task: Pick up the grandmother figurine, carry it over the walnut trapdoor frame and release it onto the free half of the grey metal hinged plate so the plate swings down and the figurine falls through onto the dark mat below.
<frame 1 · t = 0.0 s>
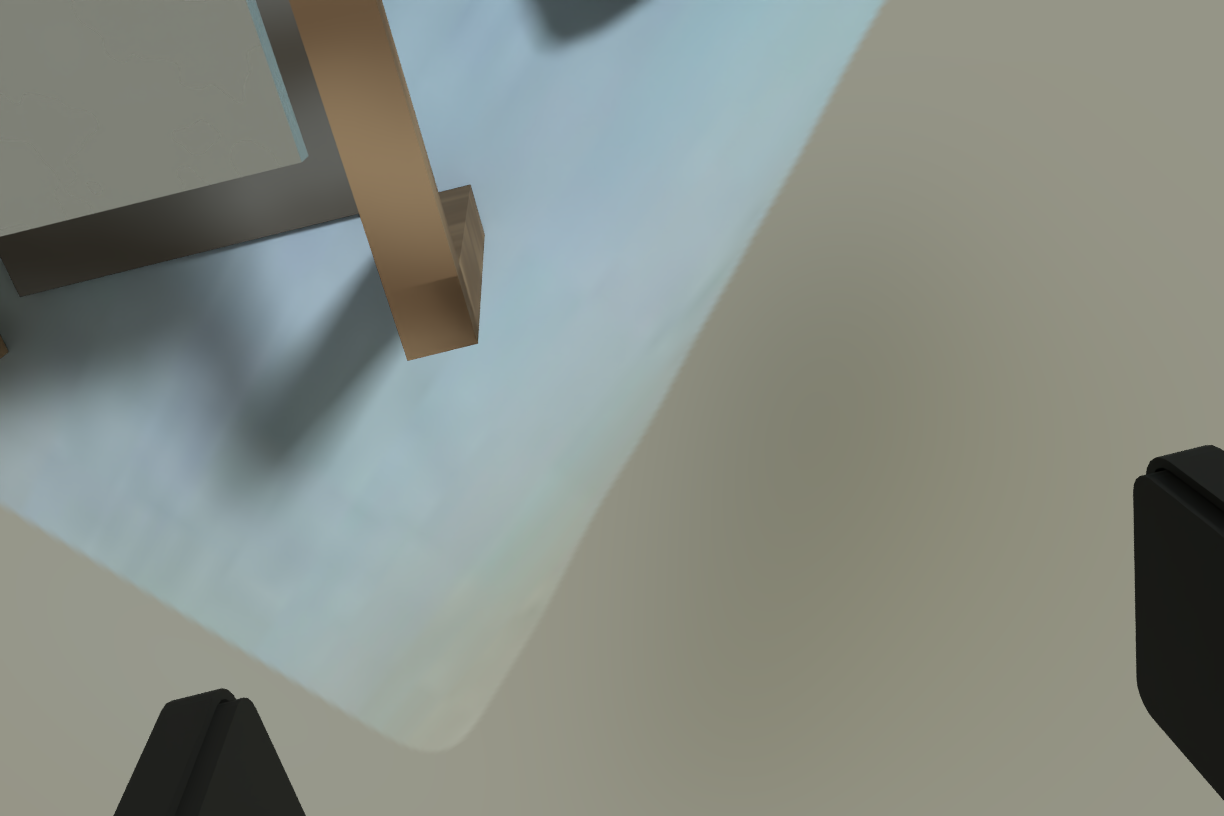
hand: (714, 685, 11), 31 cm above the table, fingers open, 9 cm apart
trapdoor frame: (115, 32, 36), on the table
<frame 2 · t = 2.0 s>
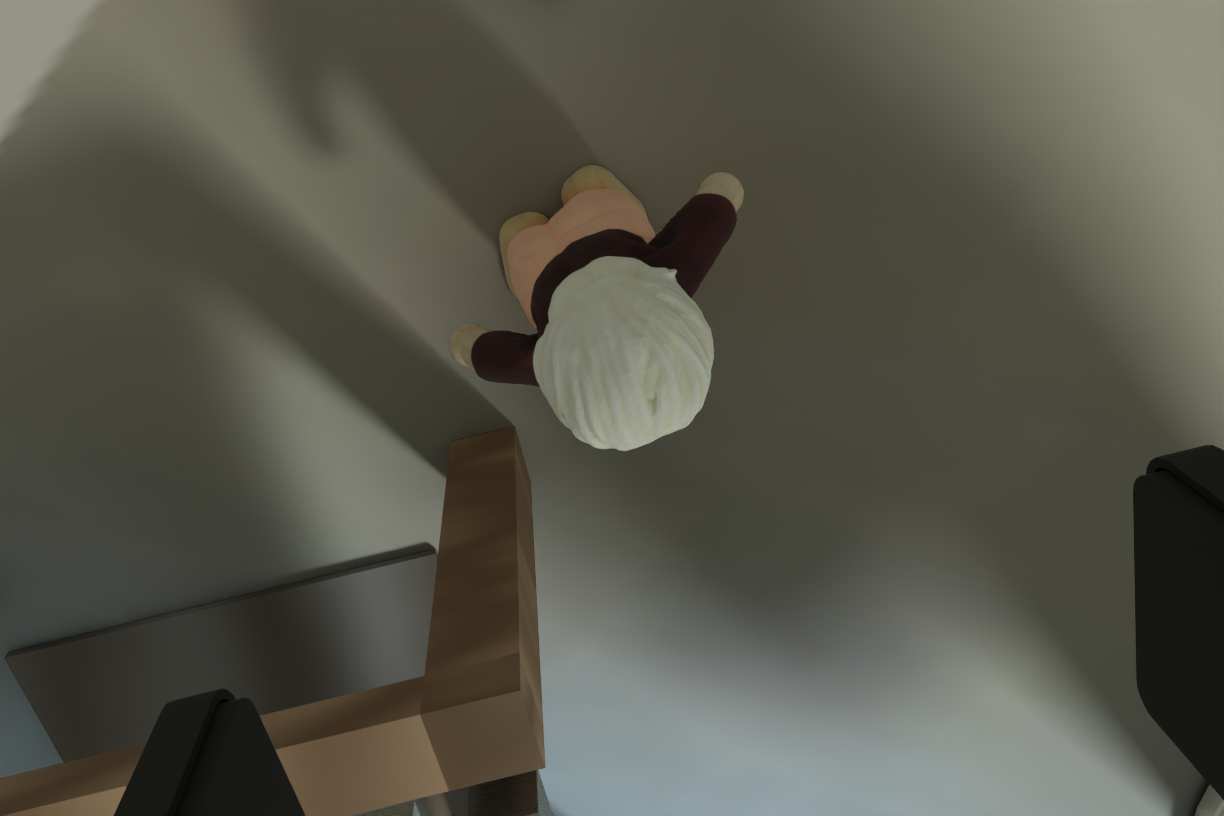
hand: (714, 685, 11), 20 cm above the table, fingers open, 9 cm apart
grandmother figurine: (584, 224, 30), on the table
trapdoor frame: (324, 758, 36), on the table
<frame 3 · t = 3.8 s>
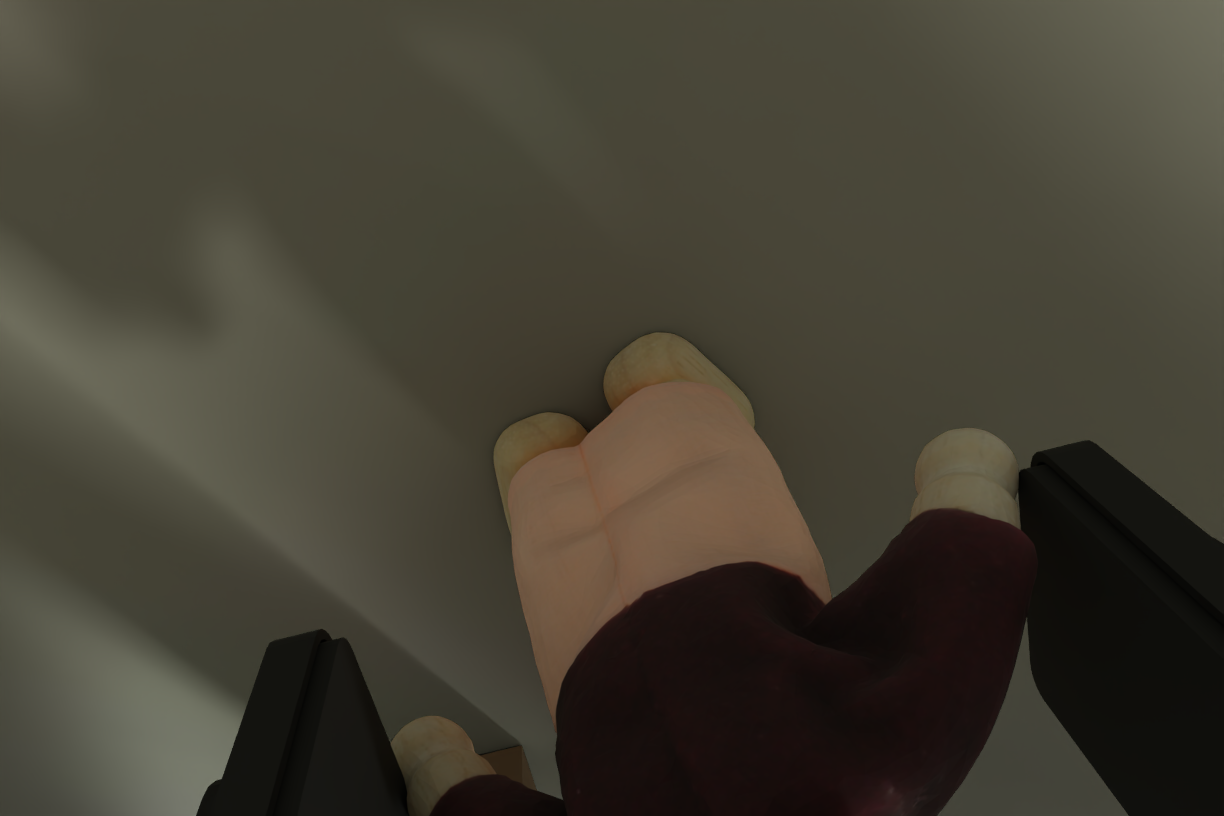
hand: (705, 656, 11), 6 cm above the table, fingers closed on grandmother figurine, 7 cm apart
grandmother figurine: (643, 428, 17), on the table, touching gripper
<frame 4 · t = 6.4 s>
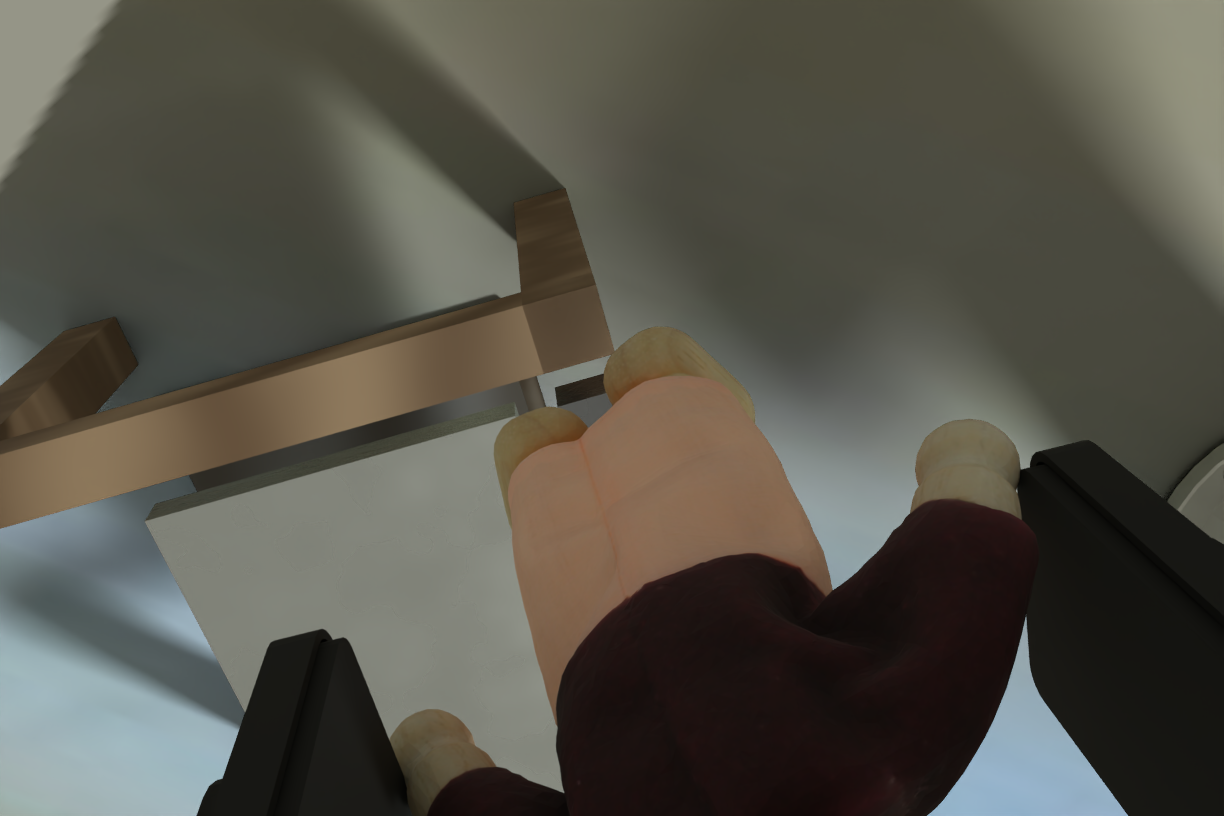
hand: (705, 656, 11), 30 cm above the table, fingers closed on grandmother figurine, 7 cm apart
trapdoor plate: (462, 656, 32), point 12 cm above the table, hinge at 0.0°
grandmother figurine: (644, 422, 17), point 23 cm above the table, touching gripper
trapdoor frame: (413, 495, 43), on the table
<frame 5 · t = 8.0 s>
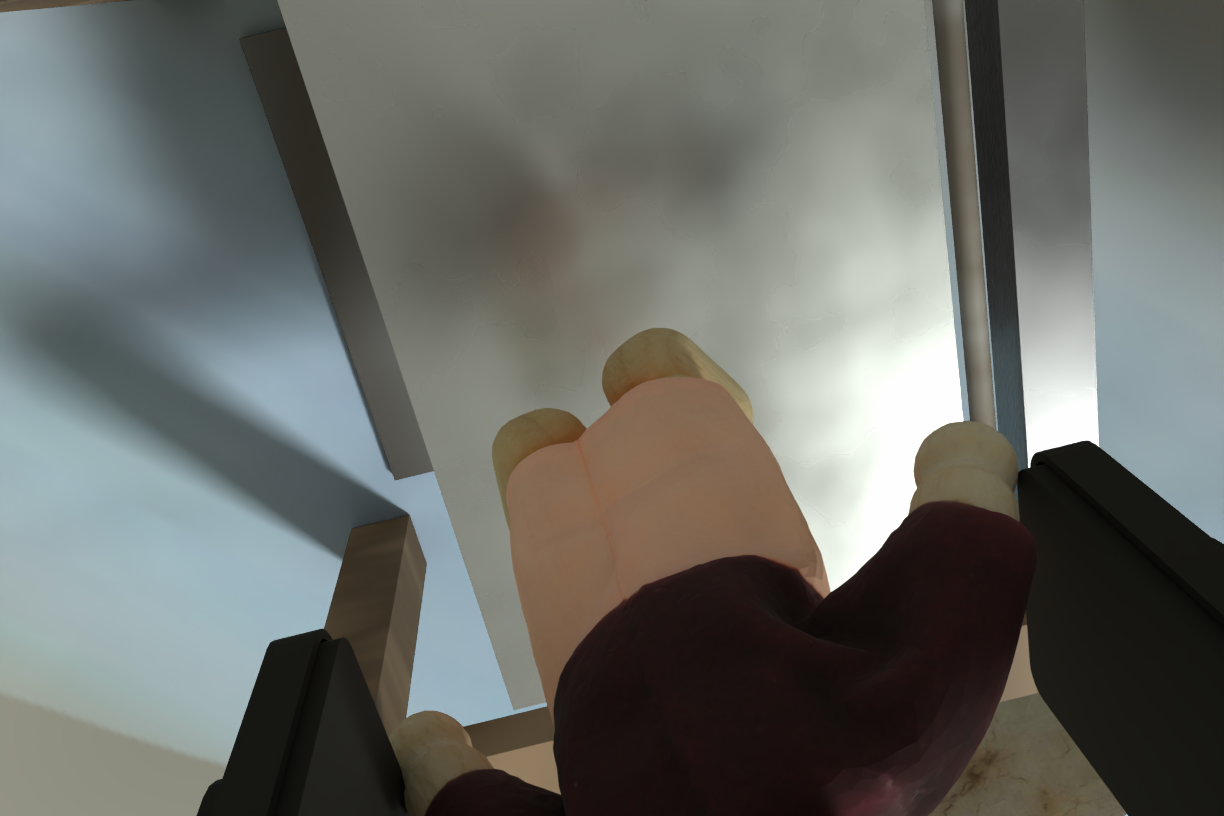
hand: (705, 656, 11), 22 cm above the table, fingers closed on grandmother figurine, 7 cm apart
trapdoor plate: (744, 318, 20), point 12 cm above the table, hinge at 0.0°
grandmother figurine: (642, 423, 17), point 16 cm above the table, touching gripper
marble piece: (883, 707, 41), on the table
trapdoor frame: (582, 214, 31), on the table
when the fingers open (21 cm above the table, at t = 9.1 s): grandmother figurine drops 4 cm, resting on trapdoor plate.
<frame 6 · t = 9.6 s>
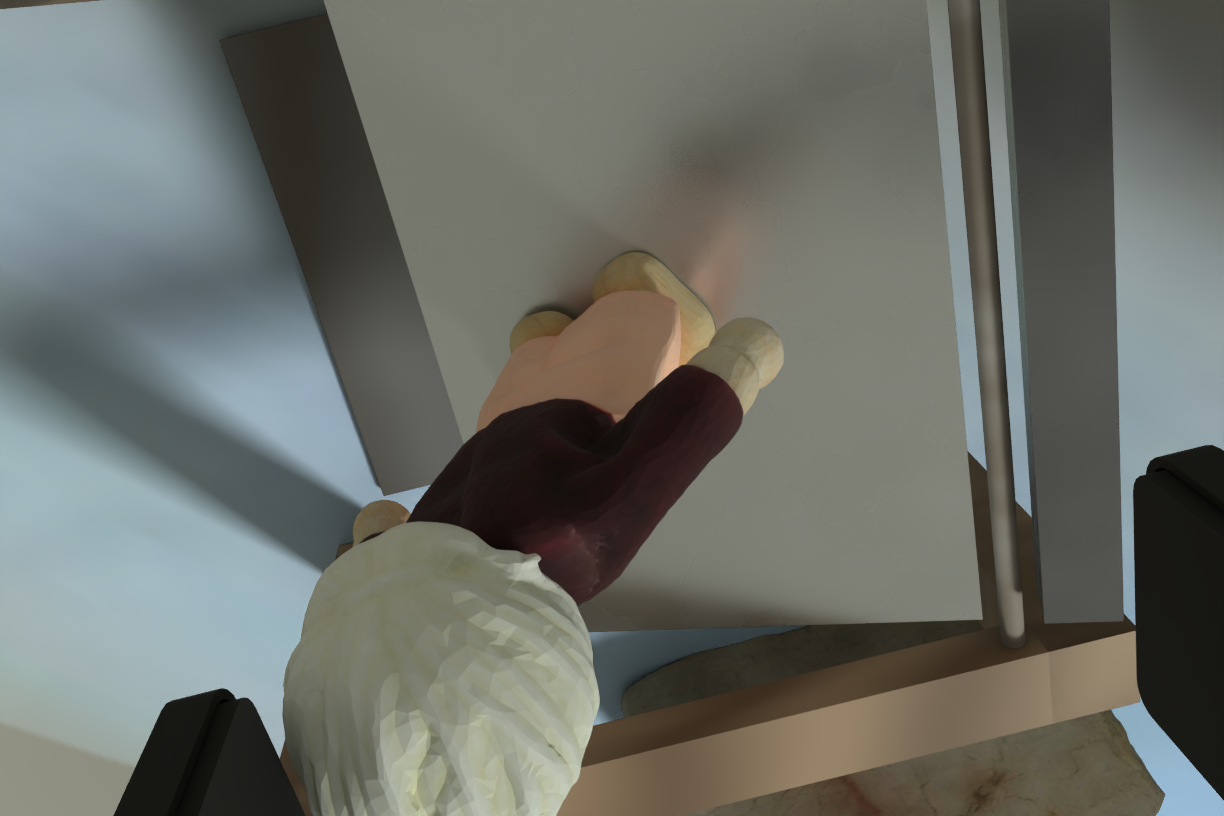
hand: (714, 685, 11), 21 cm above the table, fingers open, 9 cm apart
trapdoor plate: (743, 307, 21), point 10 cm above the table, hinge at -19.4°, touching grandmother figurine
grandmother figurine: (629, 330, 21), point 10 cm above the table, touching gripper, trapdoor plate
marble piece: (886, 725, 40), on the table
trapdoor frame: (576, 221, 30), on the table
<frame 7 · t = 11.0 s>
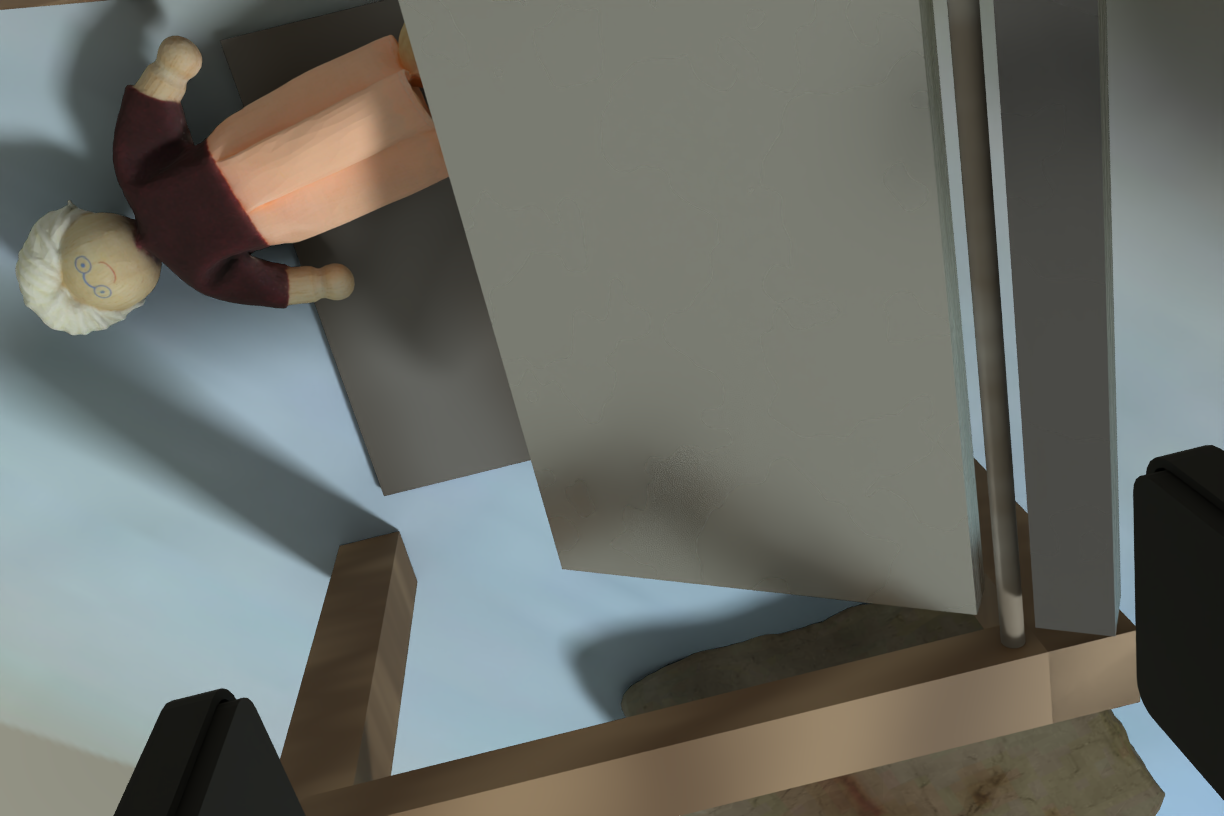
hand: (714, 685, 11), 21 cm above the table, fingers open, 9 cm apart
trapdoor plate: (756, 287, 22), point 9 cm above the table, hinge at -33.4°
grandmother figurine: (456, 70, 27), point 2 cm above the table, touching trapdoor frame
marble piece: (886, 724, 40), on the table
trapdoor frame: (577, 221, 30), on the table
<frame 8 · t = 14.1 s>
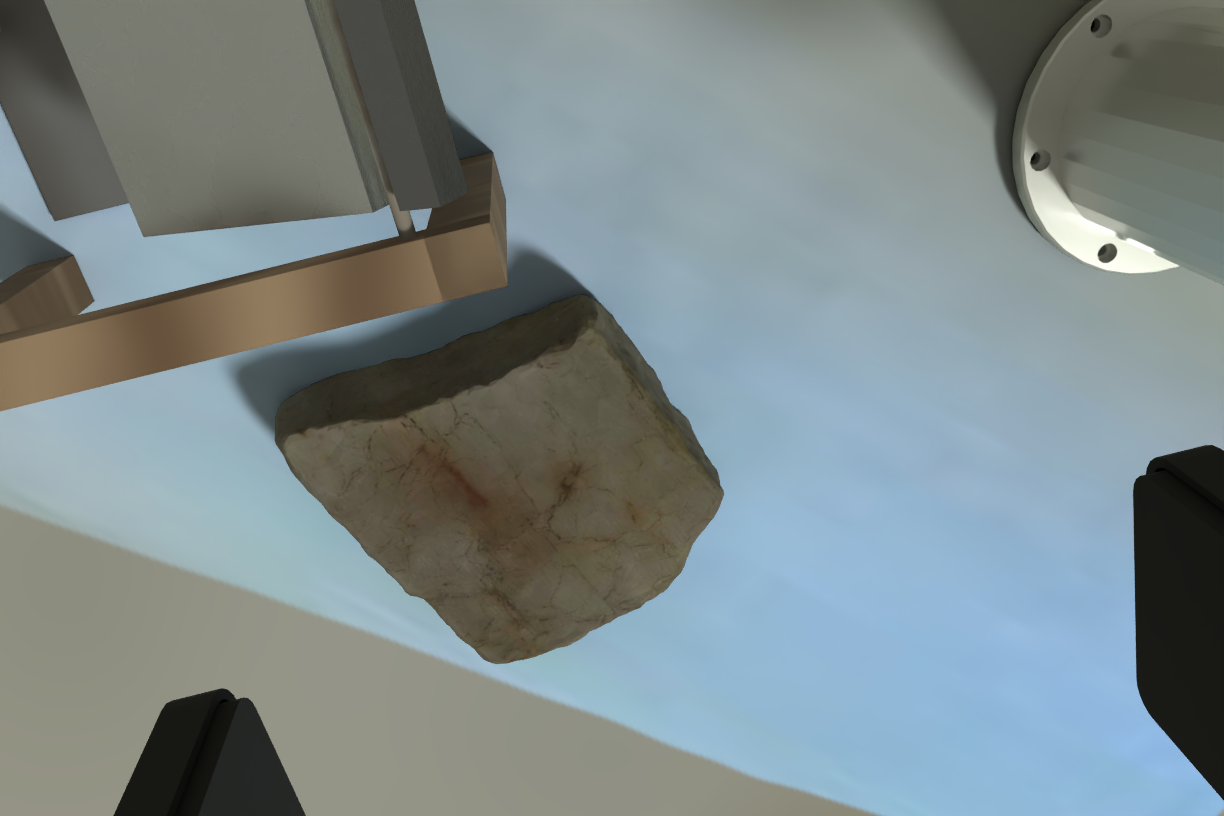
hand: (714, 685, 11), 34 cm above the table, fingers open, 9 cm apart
marble piece: (518, 450, 48), on the table
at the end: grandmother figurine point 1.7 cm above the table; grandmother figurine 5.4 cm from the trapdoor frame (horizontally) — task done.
